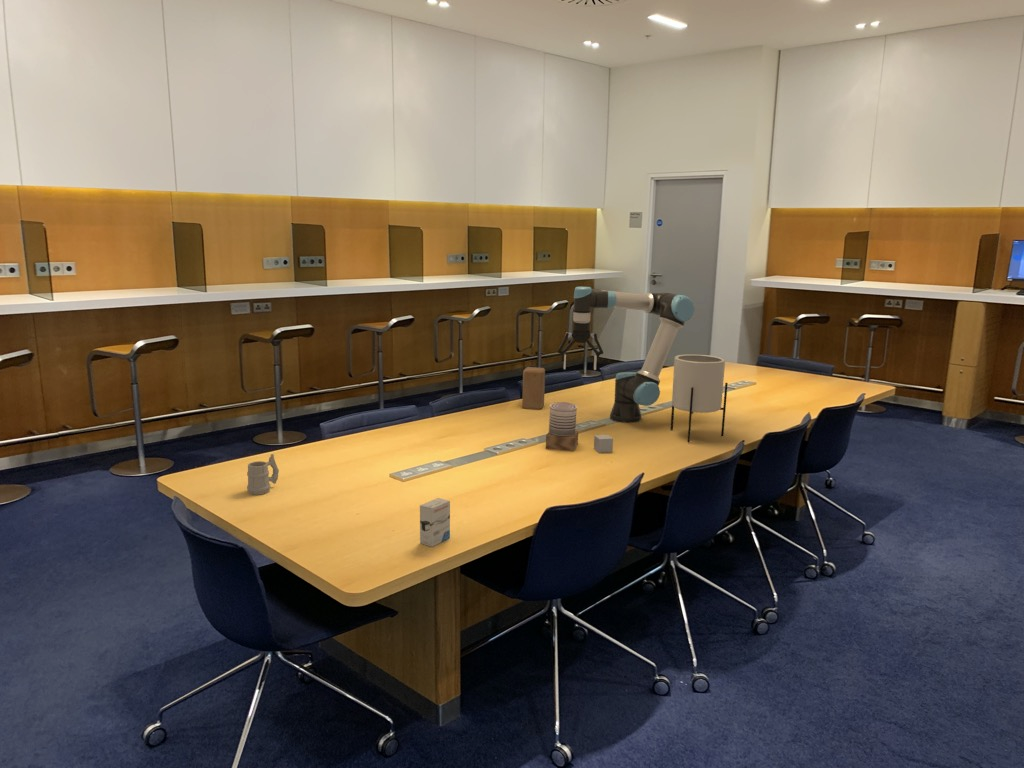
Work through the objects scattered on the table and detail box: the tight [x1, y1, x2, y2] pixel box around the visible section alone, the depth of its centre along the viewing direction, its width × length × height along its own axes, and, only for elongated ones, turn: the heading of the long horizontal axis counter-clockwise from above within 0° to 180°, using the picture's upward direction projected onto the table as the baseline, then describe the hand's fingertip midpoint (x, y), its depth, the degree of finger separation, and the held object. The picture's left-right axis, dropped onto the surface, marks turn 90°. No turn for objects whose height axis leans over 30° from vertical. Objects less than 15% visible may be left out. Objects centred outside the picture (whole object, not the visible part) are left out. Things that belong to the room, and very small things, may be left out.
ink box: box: [419, 497, 451, 548], centre depth 223 cm, size 8×5×12 cm, turn 145°
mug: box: [246, 453, 279, 496], centre depth 262 cm, size 8×12×12 cm, turn 143°
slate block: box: [593, 434, 614, 454], centre depth 318 cm, size 6×6×6 cm
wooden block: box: [521, 366, 546, 410], centre depth 390 cm, size 10×10×20 cm
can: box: [548, 401, 578, 436], centre depth 321 cm, size 11×11×12 cm
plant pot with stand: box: [670, 353, 728, 442], centre depth 339 cm, size 24×24×36 cm
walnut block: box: [545, 429, 579, 452], centre depth 323 cm, size 12×12×6 cm
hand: (579, 369), depth 342 cm, fingers open, 13 cm apart
